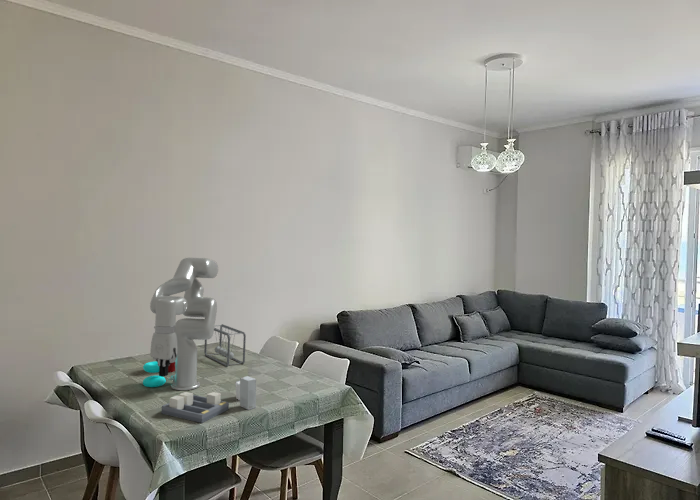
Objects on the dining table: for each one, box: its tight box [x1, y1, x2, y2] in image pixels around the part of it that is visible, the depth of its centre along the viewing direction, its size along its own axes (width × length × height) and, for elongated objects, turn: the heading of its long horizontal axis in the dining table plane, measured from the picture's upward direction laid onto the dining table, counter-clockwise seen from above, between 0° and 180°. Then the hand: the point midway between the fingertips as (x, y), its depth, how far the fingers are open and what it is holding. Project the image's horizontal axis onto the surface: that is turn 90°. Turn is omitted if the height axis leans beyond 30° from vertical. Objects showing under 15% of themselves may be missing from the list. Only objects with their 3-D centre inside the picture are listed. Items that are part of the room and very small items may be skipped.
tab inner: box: [206, 391, 222, 405], centre depth 192 cm, size 4×4×4 cm
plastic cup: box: [168, 358, 176, 374], centre depth 242 cm, size 11×11×12 cm
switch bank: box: [160, 394, 230, 424], centre depth 189 cm, size 20×16×3 cm
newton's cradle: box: [203, 324, 247, 367], centre depth 268 cm, size 30×10×18 cm, turn 41°
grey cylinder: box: [235, 380, 240, 401], centre depth 207 cm, size 7×7×7 cm
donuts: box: [142, 360, 167, 388], centre depth 220 cm, size 10×10×10 cm
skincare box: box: [239, 375, 257, 410], centre depth 196 cm, size 6×4×12 cm
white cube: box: [169, 394, 184, 409], centre depth 186 cm, size 4×4×4 cm
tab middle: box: [178, 391, 194, 405], centre depth 191 cm, size 4×4×4 cm
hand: (163, 375), depth 188 cm, fingers closed
